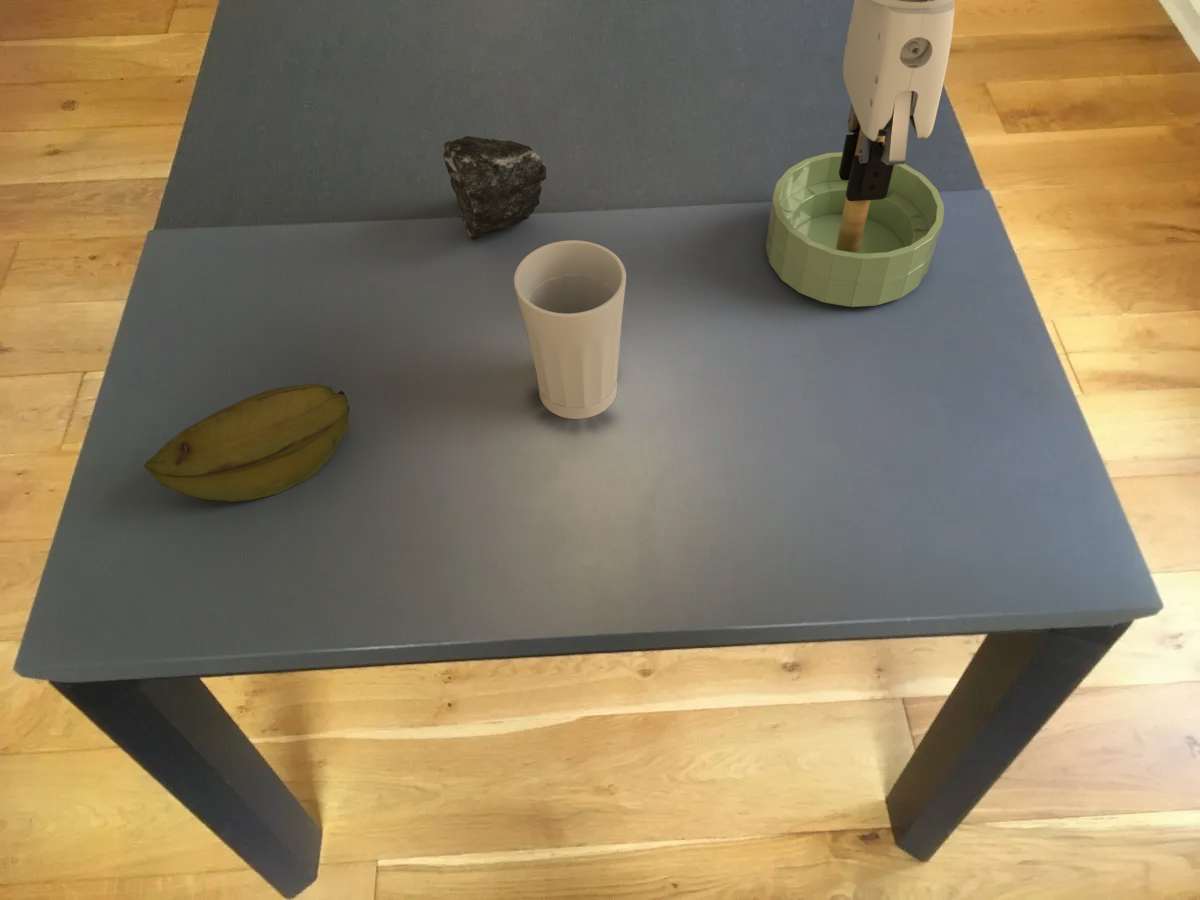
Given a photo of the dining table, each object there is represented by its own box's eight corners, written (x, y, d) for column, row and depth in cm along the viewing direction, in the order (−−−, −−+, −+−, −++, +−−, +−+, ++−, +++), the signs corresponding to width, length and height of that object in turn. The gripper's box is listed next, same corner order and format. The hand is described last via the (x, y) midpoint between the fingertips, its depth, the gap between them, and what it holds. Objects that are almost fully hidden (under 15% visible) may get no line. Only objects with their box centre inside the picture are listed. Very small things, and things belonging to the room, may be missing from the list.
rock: (489, 262, 88) (475, 170, 80) (441, 225, 92) (423, 133, 84) (554, 223, 91) (547, 130, 83) (506, 189, 95) (494, 96, 87)
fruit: (306, 540, 70) (280, 487, 65) (161, 506, 73) (124, 452, 67) (371, 422, 77) (351, 365, 72) (236, 394, 79) (207, 337, 74)
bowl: (931, 218, 90) (948, 163, 85) (921, 324, 82) (938, 269, 77) (779, 196, 93) (786, 142, 88) (753, 296, 84) (760, 242, 80)
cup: (645, 376, 79) (647, 263, 70) (592, 442, 75) (586, 331, 66) (564, 340, 82) (555, 227, 72) (509, 401, 78) (491, 290, 68)
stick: (856, 240, 85) (883, 119, 76) (861, 255, 84) (889, 134, 75) (833, 241, 85) (858, 121, 76) (838, 256, 84) (863, 136, 75)
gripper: (1003, 18, 60) (932, 249, 75) (936, -95, 70) (884, 128, 85) (882, 24, 60) (835, 254, 75) (832, -90, 70) (798, 133, 85)
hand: (861, 186), depth 80 cm, fingers closed on stick, 2 cm apart
